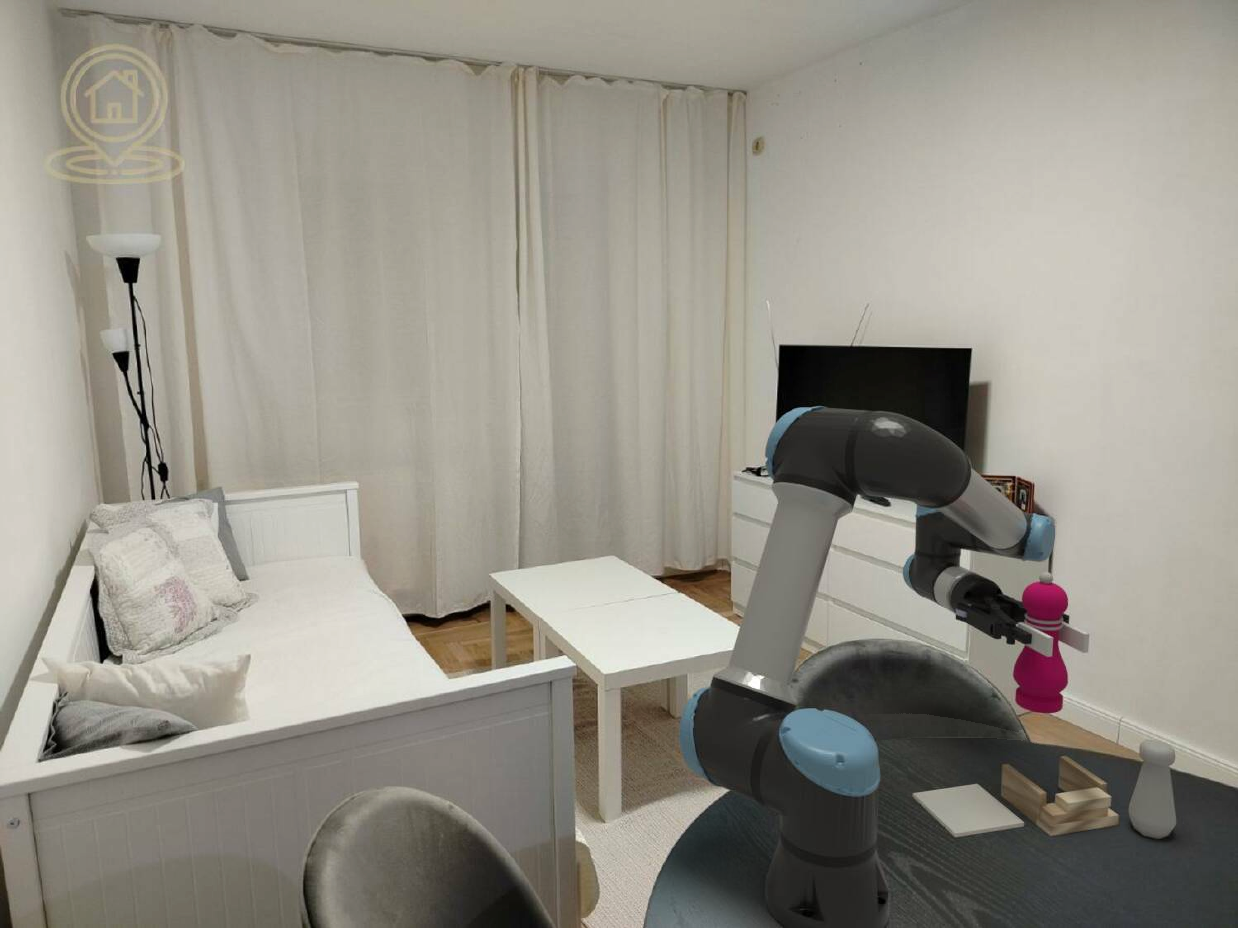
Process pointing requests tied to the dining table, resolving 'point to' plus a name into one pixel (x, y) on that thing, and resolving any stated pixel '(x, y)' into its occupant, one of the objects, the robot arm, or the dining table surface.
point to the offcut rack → (1061, 799)
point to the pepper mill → (1032, 668)
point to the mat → (967, 810)
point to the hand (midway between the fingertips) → (1068, 645)
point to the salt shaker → (1154, 791)
